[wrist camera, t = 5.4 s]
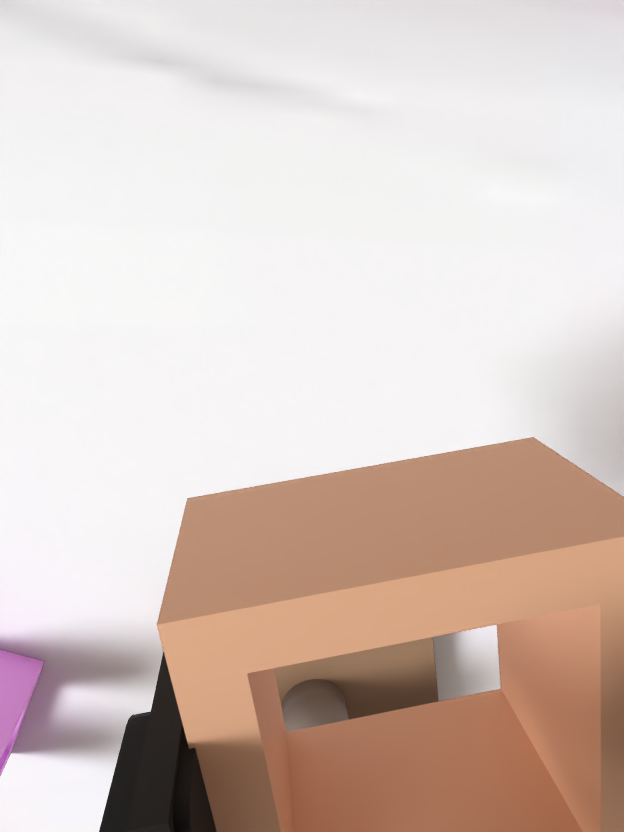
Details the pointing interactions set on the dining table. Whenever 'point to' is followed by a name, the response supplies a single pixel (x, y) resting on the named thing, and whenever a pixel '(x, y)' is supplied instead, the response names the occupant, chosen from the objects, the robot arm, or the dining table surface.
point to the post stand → (357, 684)
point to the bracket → (15, 697)
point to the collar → (403, 622)
